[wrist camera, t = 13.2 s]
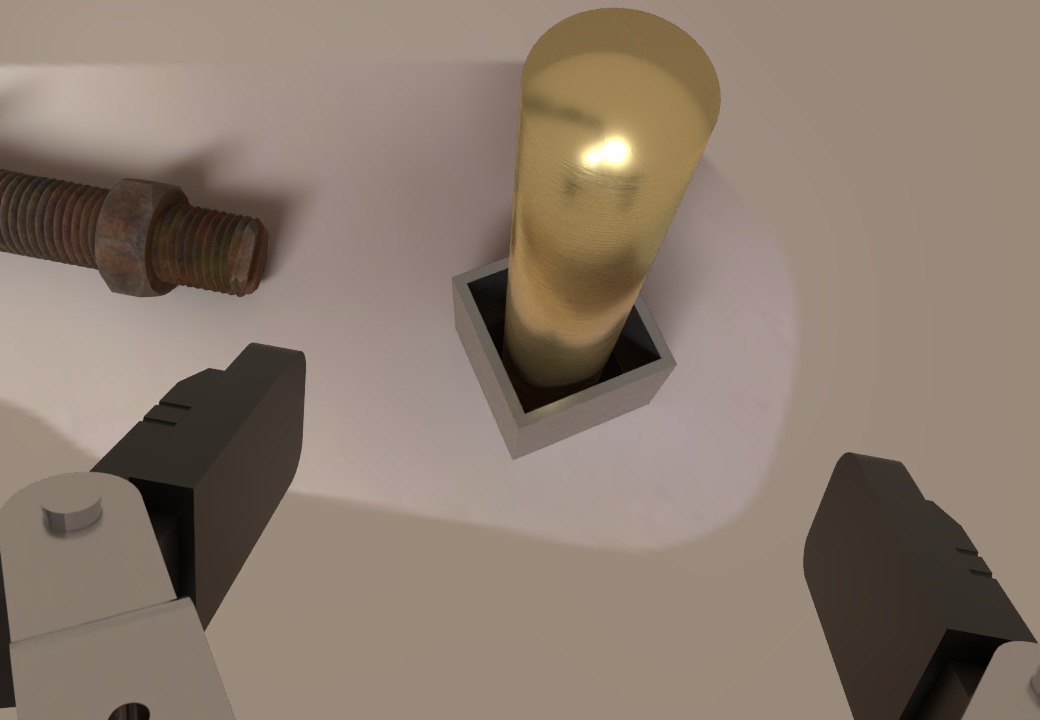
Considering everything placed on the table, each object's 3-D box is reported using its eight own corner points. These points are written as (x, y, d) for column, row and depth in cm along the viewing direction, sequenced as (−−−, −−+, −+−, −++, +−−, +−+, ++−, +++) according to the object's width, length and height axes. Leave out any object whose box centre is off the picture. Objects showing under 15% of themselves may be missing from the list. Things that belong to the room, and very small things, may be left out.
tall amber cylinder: (525, 431, 32) (571, 204, 15) (486, 343, 33) (489, 42, 16) (615, 393, 33) (756, 137, 16) (574, 309, 34) (665, -15, 17)
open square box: (512, 460, 32) (518, 429, 27) (455, 328, 34) (451, 277, 29) (648, 403, 33) (677, 364, 28) (586, 278, 35) (603, 221, 30)
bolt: (273, 312, 36) (-69, 247, 35) (289, 196, 35) (-63, 128, 34) (224, 331, 30) (-185, 254, 30) (240, 194, 29) (-181, 113, 29)
